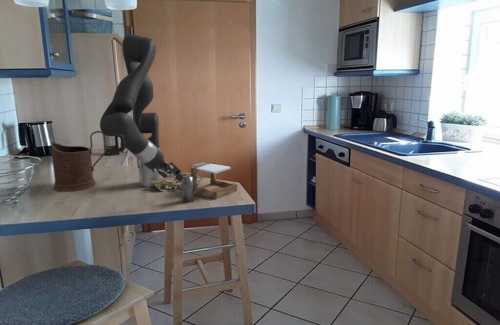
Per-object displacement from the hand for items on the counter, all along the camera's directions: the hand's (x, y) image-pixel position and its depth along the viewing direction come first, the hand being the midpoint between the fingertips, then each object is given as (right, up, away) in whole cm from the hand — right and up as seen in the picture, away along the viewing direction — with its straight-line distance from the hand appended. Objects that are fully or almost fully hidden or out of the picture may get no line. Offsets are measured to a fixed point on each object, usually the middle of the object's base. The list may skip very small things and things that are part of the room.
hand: (173, 177), depth 145 cm
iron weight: (+4, -10, +8) cm, 13 cm away
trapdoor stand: (+13, -7, +20) cm, 25 cm away
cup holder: (-49, -5, +30) cm, 57 cm away
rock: (-4, -6, +28) cm, 29 cm away
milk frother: (-58, +12, +102) cm, 118 cm away
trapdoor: (+12, +2, +19) cm, 22 cm away
